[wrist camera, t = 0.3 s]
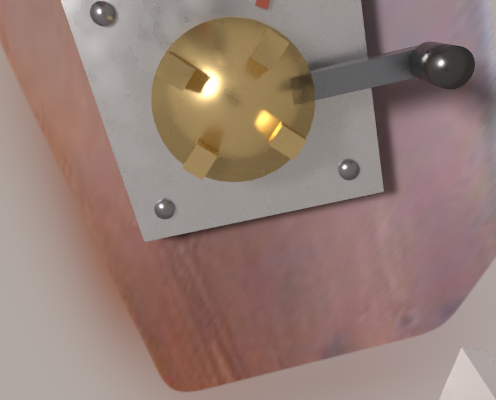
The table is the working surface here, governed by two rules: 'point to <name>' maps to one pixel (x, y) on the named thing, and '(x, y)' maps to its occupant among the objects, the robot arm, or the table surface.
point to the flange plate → (170, 169)
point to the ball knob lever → (266, 93)
